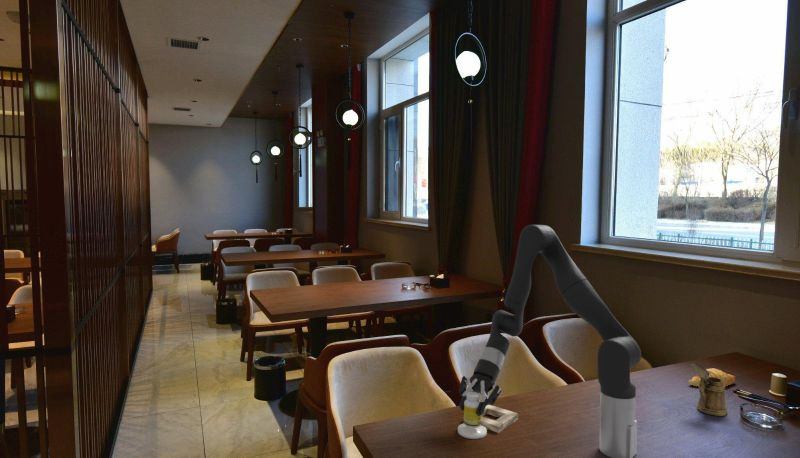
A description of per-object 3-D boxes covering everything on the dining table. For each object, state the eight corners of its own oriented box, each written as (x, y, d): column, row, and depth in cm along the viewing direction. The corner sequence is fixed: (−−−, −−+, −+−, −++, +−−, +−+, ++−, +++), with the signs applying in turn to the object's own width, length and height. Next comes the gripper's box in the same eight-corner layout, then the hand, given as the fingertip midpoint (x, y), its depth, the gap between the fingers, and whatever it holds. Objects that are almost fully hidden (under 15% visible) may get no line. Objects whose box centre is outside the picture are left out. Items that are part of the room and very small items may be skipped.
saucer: (492, 431, 151) (492, 428, 151) (476, 441, 145) (476, 438, 145) (467, 423, 157) (467, 420, 157) (452, 432, 150) (452, 429, 150)
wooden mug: (681, 409, 169) (682, 358, 168) (708, 404, 173) (710, 354, 173) (705, 420, 160) (706, 366, 160) (733, 414, 165) (735, 362, 164)
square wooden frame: (518, 419, 160) (518, 413, 160) (498, 432, 150) (498, 426, 150) (484, 408, 169) (484, 403, 169) (463, 420, 159) (463, 414, 159)
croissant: (694, 398, 188) (702, 383, 184) (677, 378, 197) (684, 364, 193) (740, 392, 193) (748, 378, 189) (721, 373, 201) (729, 360, 197)
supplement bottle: (481, 429, 148) (481, 398, 147) (463, 428, 149) (463, 396, 148) (481, 421, 153) (481, 391, 153) (464, 420, 154) (464, 390, 154)
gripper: (466, 354, 160) (445, 400, 152) (505, 363, 151) (485, 413, 142) (475, 365, 165) (455, 411, 156) (513, 375, 155) (494, 424, 147)
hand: (469, 411), depth 149 cm, fingers closed on supplement bottle, 5 cm apart
